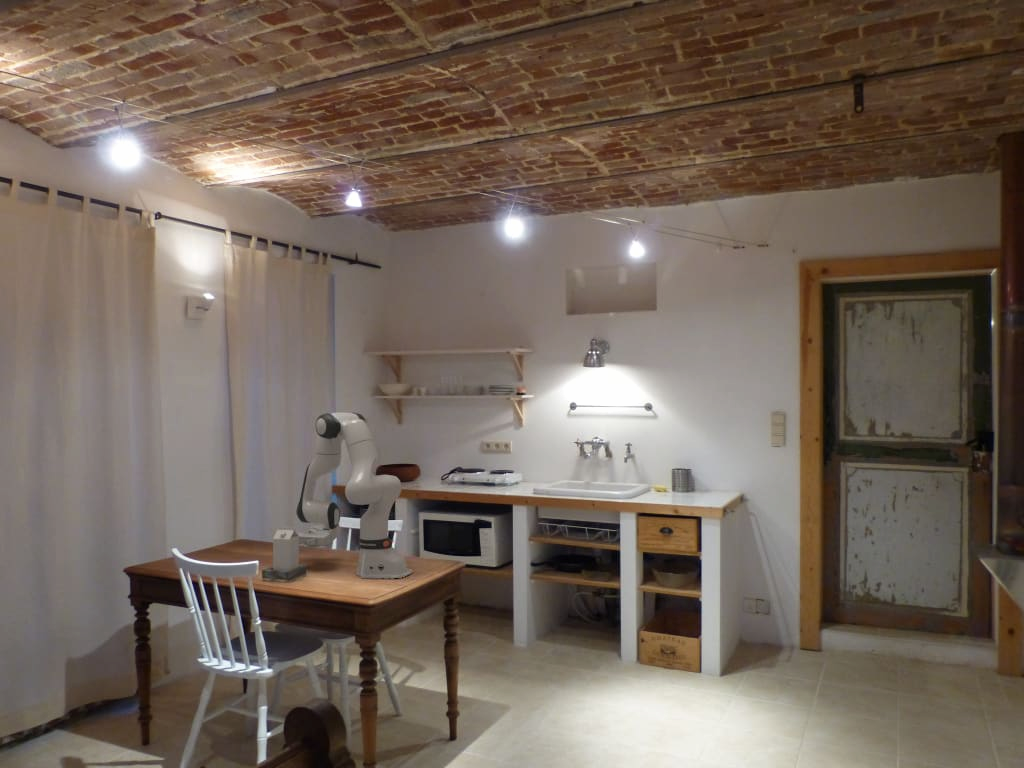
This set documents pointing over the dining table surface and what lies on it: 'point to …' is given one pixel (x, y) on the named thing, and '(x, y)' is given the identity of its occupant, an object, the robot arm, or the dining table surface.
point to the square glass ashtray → (283, 574)
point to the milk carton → (285, 549)
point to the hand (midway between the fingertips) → (295, 542)
